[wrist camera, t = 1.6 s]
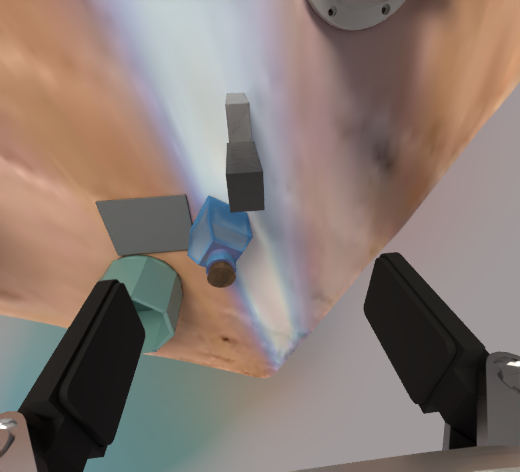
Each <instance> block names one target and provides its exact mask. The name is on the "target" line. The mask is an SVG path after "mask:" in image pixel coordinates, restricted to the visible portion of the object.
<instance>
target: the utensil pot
mask: <svg viewBox="0 0 520 472" xmlns="http://www.w3.org/2000/svg"><path fill="white" fill-rule="evenodd" d="M112 279H117V280H119V282H120V283H124V284H125V286H126V288H127V291H128V293H129V295H130V297H131V300H132V302H133V304H134V306H135V309H136V311H137V313H138V315H139V318H140V320H141V322H142V324H143V327H144V329H145V341H144V344H143V347H142V351H141V353H149V352H156V351H157V350H158V349H160V348H161V347H162V346H163V345H164V344H165V343H166V342H167V341H168V340H169V339H170V338H171V337H173V336H174V335H175V330H176V325H177V321H178V316H179V311H180V306H181V301H182V296H183V294H182V290H181V280H180V277H179V275H178V273H177V272H176V271H175V269H173V268H172V267H171V266H170V265H169V264H167V263H166V262H164V261H162V260H160V259H158V258H155V257H152V256H147V255H128V256H124V257H121V258H119V259H117V260H114V261H113V262H112V263H111V264H110V265H109V267H108V268H107V270H106V271H105V273H104V274H103V275H102V277H101V278H100V279H99V280H98V281H102V280H112Z"/></svg>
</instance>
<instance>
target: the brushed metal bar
mask: <svg viewBox="0 0 520 472" xmlns="http://www.w3.org/2000/svg"><path fill="white" fill-rule="evenodd" d="M225 106H226V116H227V126H228V135H229V143H227V157H226V180H227V188H228V197H229V205H230V213H232V212H245V211H257V210H264V184H263V170H262V166H261V163H260V160H259V157H258V153H257V150H256V147H255V144H254V141H251V124H250V107H249V101H248V100H247V98H246V96H245V94H244V93H227V95H226V103H225Z"/></svg>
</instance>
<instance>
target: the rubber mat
mask: <svg viewBox="0 0 520 472" xmlns="http://www.w3.org/2000/svg"><path fill="white" fill-rule="evenodd" d="M95 203H96V205H97V208H98V210H99V212H100V215H101V217H102V219H103V222H104V224H105V226H106V229H107V231H108V233H109V236H110V238H111V240H112V243H113V245H114V247H115V250H116V252H117V254H118V256H119V255H130V254H141V253H152V252H164V251H175V250H186V249H188V245H189V236H190V229H191V227H192V221H191V217H190V212H189V207H188V203H187V198H186V195H173V196H160V197H147V198H134V199H121V200H108V201H96V202H95Z"/></svg>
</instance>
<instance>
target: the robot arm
mask: <svg viewBox="0 0 520 472" xmlns="http://www.w3.org/2000/svg"><path fill="white" fill-rule="evenodd" d="M308 1H309V3H310V5H311V6H312V8H313V10H314V11H315V12H316V13H317V14H318V15H319V16H320V18H321V19H322V20H324V21H325V22H327V23H328V24H330V25H331V26H333V27H336V28H338V29H341V30H349V31H355V30H362V29H366V28H369V27H372V26H375V25H377V24H379V23H380V22H382V21H384V20H386V19H387V18H388V17H390V16H391V15H392V14H393V13H395V12H396V11H397V10H398V9H399V8H400V7H401V6H402V5H403V3H404V2H405V1H406V0H308ZM382 8H383V9H384V12H383V13H382ZM329 10H331V11H332V14H331V16H329V15H328V11H329ZM364 313H365V315H366V318H367V319H368V321H369V323H370V325H371V327H372V329H373V330H374V332H375V334H376V336H377V338H378V339H379V341H380V343H381V345H382V347H383V349H384V350H385V352H386V354H387V356H388V358H389V359H390V361H391V363H392V365H393V367H394V369H395V371H396V372H397V374H398V376H399V378H400V379H401V382H402V383H403V385H404V387H405V389H406V391H407V393H408V394H409V396H410V398H411V399H412V401H413V402H414V403H415V404H419V406H420V408H421V410H422V412H423V413H424V414H425V413H432V412H440V414H441V416H442V418H443V419H444V421H445V427H444V438H443V449H442V451H434V452H427V453H418V454H411V455H403V456H397V457H390V458H382V459H376V460H367V461H360V462H353V463H346V464H339V465H332V466H325V467H318V468H311V469H304V470H297V471H290V472H520V356H518V355H514V354H511V353H507V352H495V353H491V354H489V353H488V352H487V351H486V349H485V346H484V345H483V344H482V343H481V342H480V341H479V340H478V339H477V337H475V336H474V334H473V333H472V332H471V331H470V330H469V329H468V328H467V327H466V325H465V324H464V323H463V322H462V321H461V320H460V319H459V318H458V317H457V316H456V314H455V313H454V312H453V311H452V310H451V309H450V308H449V307H448V306H447V305H446V303H445V302H444V301H443V300H442V299H441V298H440V297H439V296H438V295H437V294H436V293H435V291H434V290H433V289H432V288H431V287H430V286H429V285H428V284H427V283H426V282H425V280H424V279H423V278H422V277H421V276H420V275H419V274H418V273H417V272H416V271H415V270H414V268H413V267H412V266H411V265H410V264H409V263H408V262H407V261H406V260H405V259H404V257H403V256H402V255H401V254H399V253H397V252H395V253H384V254H381V255H380V257H379V258H377V259H376V260H375V264H374V268H373V272H372V276H371V280H370V284H369V288H368V291H367V295H366V299H365V303H364ZM144 341H145V329H144V327H143V324H142V322H141V320H140V318H139V315H138V313H137V311H136V309H135V306H134V304H133V302H132V300H131V297H130V295H129V293H128V291H127V288H126V286H125V284H124V283H120V282H119V280H117V279H112V280H102V281H98V282H97V283H96V285H95V286H94V288H93V290H92V291H91V293H90V295H89V296H88V298H87V299H86V301H85V303H84V304H83V306H82V308H81V309H80V311H79V313H78V314H77V316H76V317H75V319H74V321H73V322H72V324H71V326H70V327H69V328H68V330H67V332H66V333H65V335H64V337H63V338H62V340H61V341H60V343H59V345H58V346H57V348H56V349H55V351H54V353H53V354H52V356H51V358H50V359H49V361H48V363H47V364H46V366H45V367H44V369H43V371H42V372H41V374H40V375H39V377H38V379H37V381H36V382H35V384H34V385H33V387H32V389H31V390H30V392H29V394H28V395H27V397H26V398H25V400H24V401H23V403H22V405H21V406H20V408H19V410H18V411H17V412H16V411H13V412H5V413H2V414H0V472H83V470H84V467H85V464H86V462H87V459H90V458H98V457H104V455H105V451H106V448H107V445H110V444H111V443H112V442H113V440H114V438H115V435H116V432H117V428H118V425H119V422H120V419H121V415H122V412H123V409H124V406H125V403H126V399H127V396H128V393H129V389H130V386H131V383H132V380H133V377H134V373H135V370H136V367H137V363H138V360H139V357H140V354H141V351H142V347H143V344H144Z"/></svg>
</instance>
